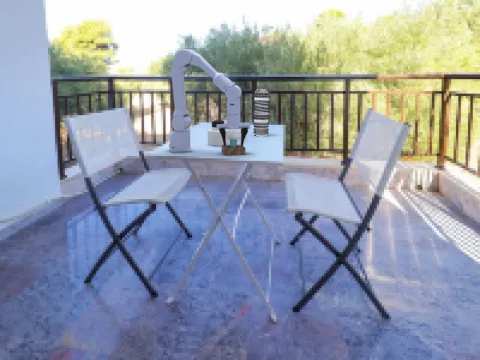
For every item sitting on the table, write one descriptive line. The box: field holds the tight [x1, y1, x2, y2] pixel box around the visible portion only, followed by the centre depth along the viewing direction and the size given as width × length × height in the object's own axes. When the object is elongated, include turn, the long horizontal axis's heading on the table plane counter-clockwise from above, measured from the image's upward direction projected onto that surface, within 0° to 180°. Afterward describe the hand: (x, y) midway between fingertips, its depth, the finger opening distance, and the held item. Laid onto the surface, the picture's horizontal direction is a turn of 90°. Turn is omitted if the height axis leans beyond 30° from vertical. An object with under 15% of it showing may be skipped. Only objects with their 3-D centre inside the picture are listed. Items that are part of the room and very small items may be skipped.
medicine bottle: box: [207, 119, 229, 147], centre depth 225 cm, size 7×7×12 cm
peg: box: [229, 138, 238, 147], centre depth 205 cm, size 3×3×6 cm
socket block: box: [221, 143, 247, 156], centre depth 205 cm, size 9×9×3 cm
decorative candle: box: [252, 88, 271, 137], centre depth 255 cm, size 9×9×25 cm
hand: (233, 145), depth 205 cm, fingers open, 7 cm apart
